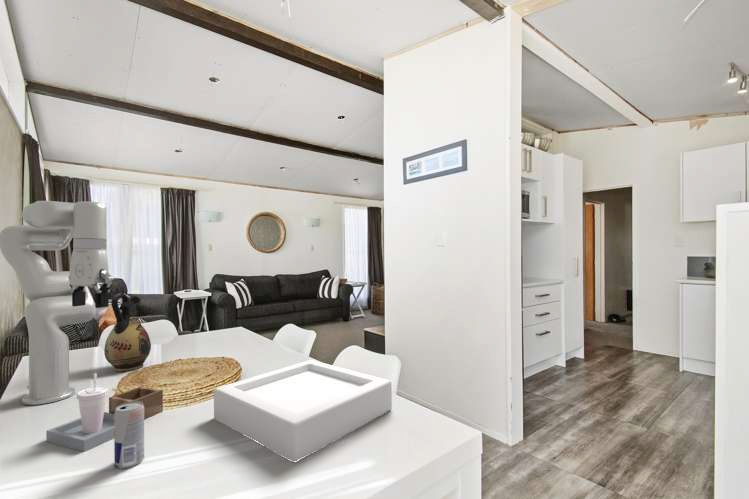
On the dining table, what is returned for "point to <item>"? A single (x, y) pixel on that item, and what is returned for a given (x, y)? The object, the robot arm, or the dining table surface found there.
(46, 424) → the dining table surface
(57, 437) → the slate tray
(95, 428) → the smoothie
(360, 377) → the tray
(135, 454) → the energy drink
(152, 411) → the deep holder
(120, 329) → the ceramic jug
